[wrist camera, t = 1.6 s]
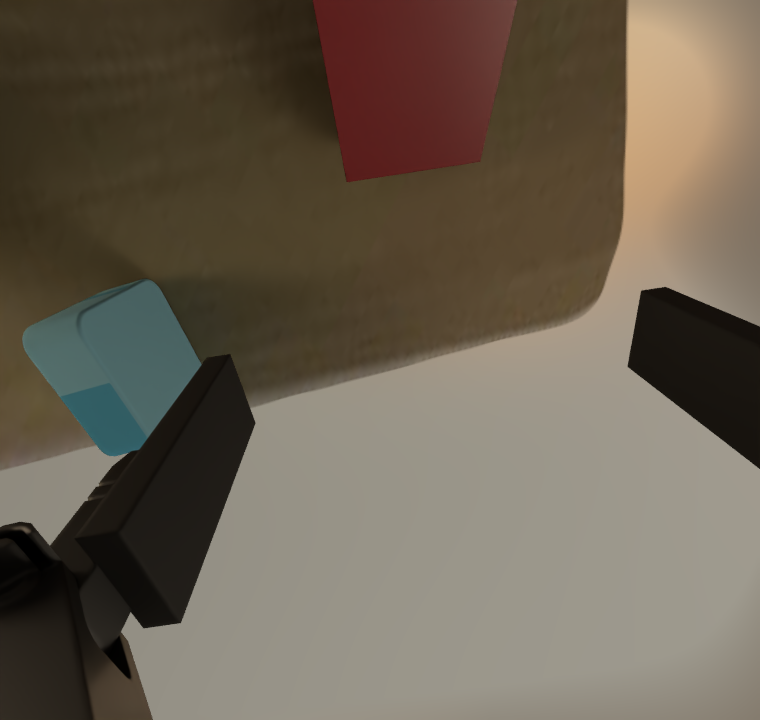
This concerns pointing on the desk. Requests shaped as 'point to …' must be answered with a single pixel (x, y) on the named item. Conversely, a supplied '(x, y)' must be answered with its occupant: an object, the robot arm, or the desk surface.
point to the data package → (115, 362)
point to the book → (412, 80)
